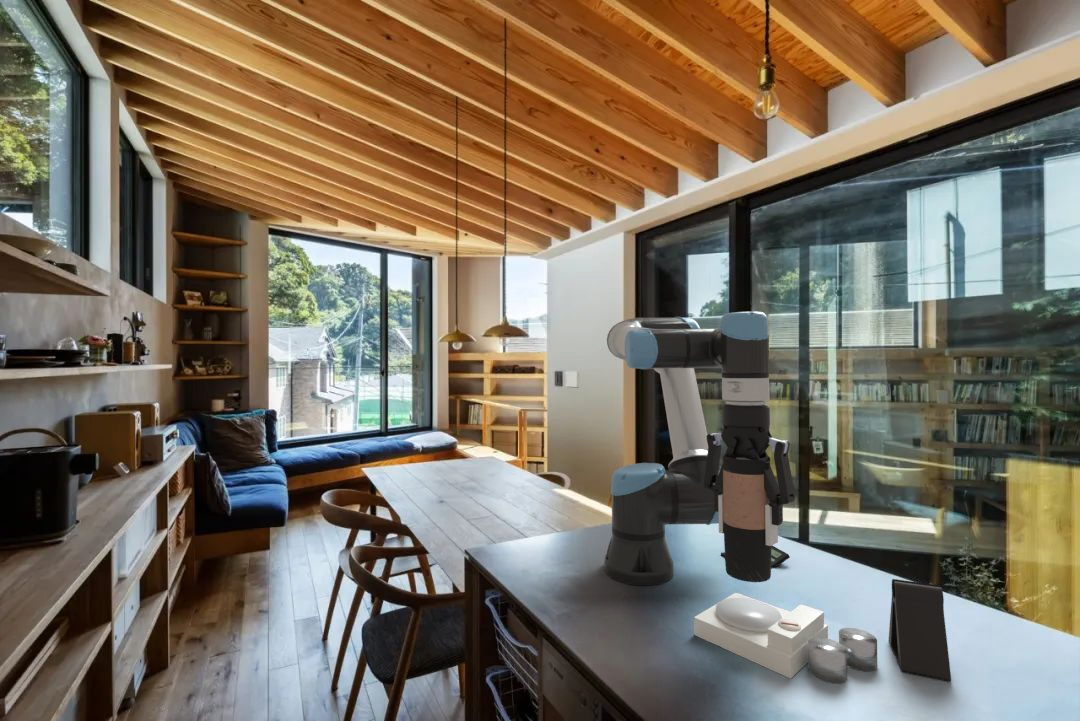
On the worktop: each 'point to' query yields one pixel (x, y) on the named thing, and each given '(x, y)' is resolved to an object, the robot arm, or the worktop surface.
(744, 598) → the scale
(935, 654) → the phone stand
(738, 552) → the travel mug
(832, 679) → the cylinder
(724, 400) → the robot arm
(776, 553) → the calculator
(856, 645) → the cylinder
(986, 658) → the worktop surface
